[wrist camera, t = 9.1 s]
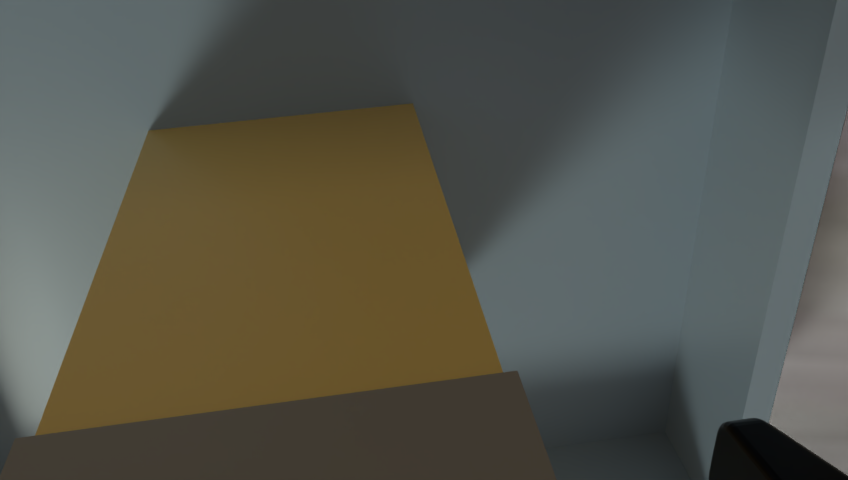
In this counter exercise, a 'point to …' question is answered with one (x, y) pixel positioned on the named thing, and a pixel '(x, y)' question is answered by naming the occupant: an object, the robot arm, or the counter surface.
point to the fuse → (284, 320)
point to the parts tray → (475, 180)
